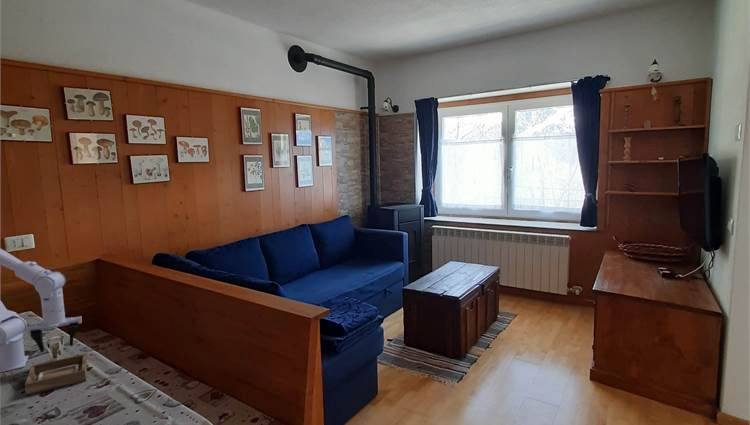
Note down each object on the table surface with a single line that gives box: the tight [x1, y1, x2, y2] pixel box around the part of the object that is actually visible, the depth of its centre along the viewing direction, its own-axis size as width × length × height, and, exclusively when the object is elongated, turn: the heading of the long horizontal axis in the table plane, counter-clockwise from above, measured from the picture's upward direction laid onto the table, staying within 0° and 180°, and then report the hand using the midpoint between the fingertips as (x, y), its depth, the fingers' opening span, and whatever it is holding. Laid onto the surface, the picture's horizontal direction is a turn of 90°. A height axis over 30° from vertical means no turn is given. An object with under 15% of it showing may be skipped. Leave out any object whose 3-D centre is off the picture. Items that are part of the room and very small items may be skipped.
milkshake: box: [46, 335, 65, 362], centre depth 132 cm, size 4×5×10 cm
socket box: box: [24, 353, 88, 397], centre depth 122 cm, size 14×14×4 cm
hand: (57, 347), depth 132 cm, fingers open, 7 cm apart
